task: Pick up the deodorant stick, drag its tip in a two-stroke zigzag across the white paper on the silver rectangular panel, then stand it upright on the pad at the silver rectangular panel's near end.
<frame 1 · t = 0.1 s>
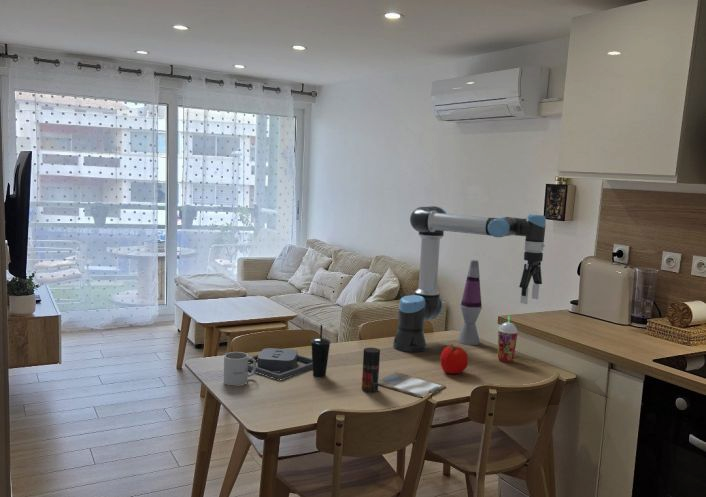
hand: (529, 301, 245), 28 cm above the table, fingers open, 13 cm apart
deodorant: (369, 390, 211), on the table
smoothie: (505, 361, 253), on the table
lamp: (468, 342, 280), on the table
streaming box: (277, 367, 232), resting in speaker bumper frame
silver rectangular panel: (409, 385, 217), on the table
mug: (240, 381, 213), on the table
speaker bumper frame: (278, 365, 232), on the table
tomato: (452, 373, 234), on the table
drinking cup: (319, 375, 223), on the table
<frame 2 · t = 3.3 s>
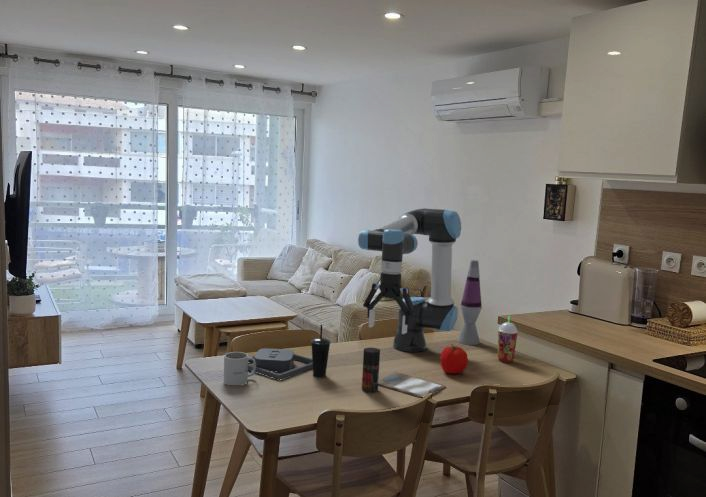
hand: (387, 330, 211), 22 cm above the table, fingers open, 13 cm apart
streaming box: (274, 367, 231), resting in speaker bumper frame
everything else where it was.
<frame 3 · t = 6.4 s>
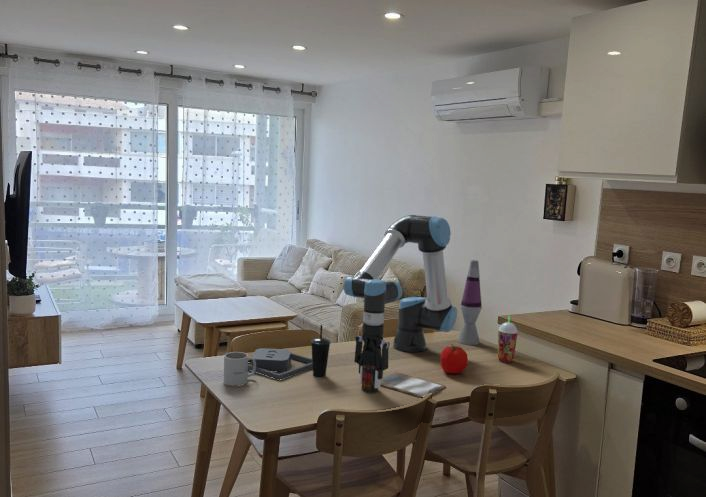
hand: (370, 384, 210), 2 cm above the table, fingers closed on deodorant, 6 cm apart
deodorant: (369, 390, 211), on the table, touching gripper
streaming box: (271, 367, 231), resting in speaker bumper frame
everything else where it was.
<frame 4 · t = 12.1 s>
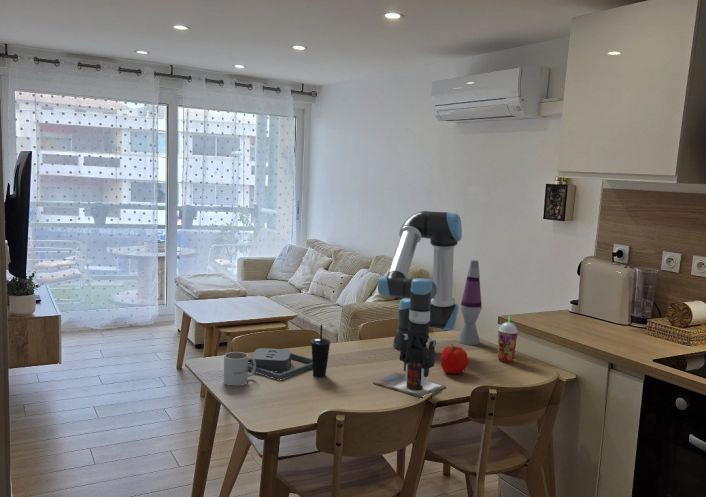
hand: (415, 382, 213), 3 cm above the table, fingers closed on deodorant, 6 cm apart
deodorant: (414, 388, 213), point 1 cm above the table, touching silver rectangular panel, gripper
everything else where it was.
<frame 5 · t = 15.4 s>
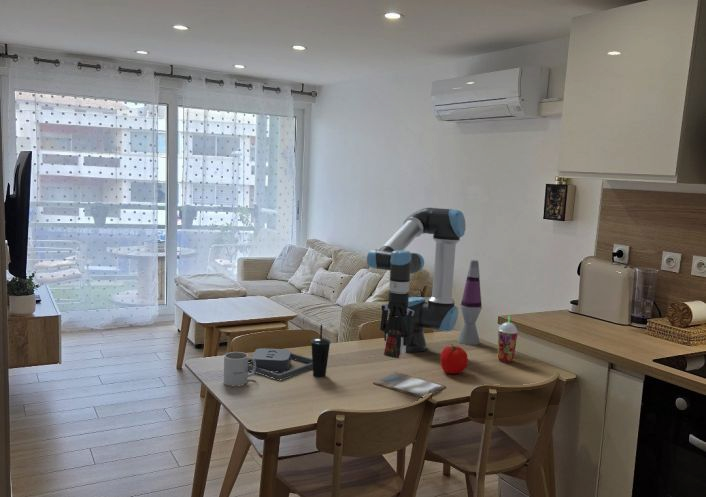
hand: (395, 351, 219), 12 cm above the table, fingers closed on deodorant, 6 cm apart
deodorant: (391, 357, 217), point 10 cm above the table, touching gripper
streaming box: (271, 367, 231), resting in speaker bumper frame
everything else where it was.
when the fingers open (3 cm above the table, at t = 17.9 s): deodorant drops 1 cm, resting on silver rectangular panel.
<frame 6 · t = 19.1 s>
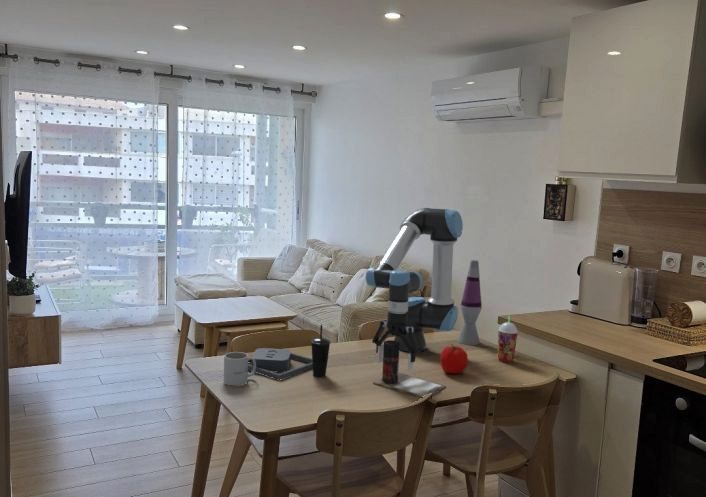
hand: (394, 365, 220), 6 cm above the table, fingers open, 13 cm apart
deodorant: (390, 381, 219), resting on silver rectangular panel
streaming box: (271, 367, 231), resting in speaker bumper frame
everything else where it was.
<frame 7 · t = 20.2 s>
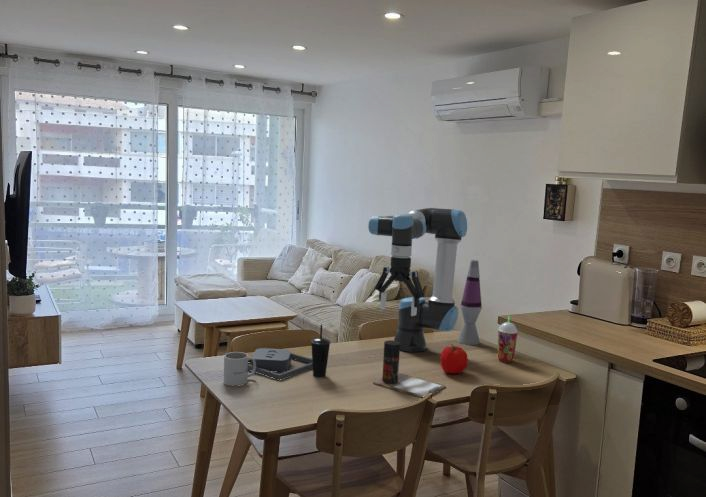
hand: (398, 312, 218), 27 cm above the table, fingers open, 13 cm apart
nothing on the table moved.
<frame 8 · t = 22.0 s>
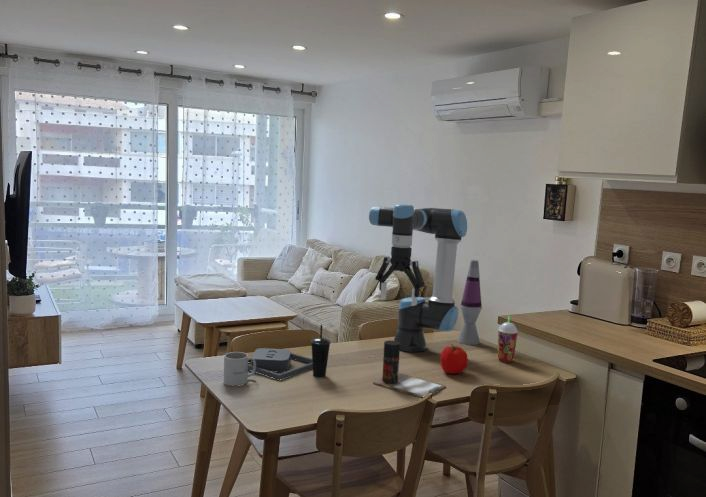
hand: (398, 302, 217), 31 cm above the table, fingers open, 13 cm apart
nothing on the table moved.
at the end: deodorant inside the target area on the silver rectangular panel (2.7 cm from its centre), point 0.4 cm above the silver rectangular panel's base; deodorant tilted 0°; the gripper is holding nothing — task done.
